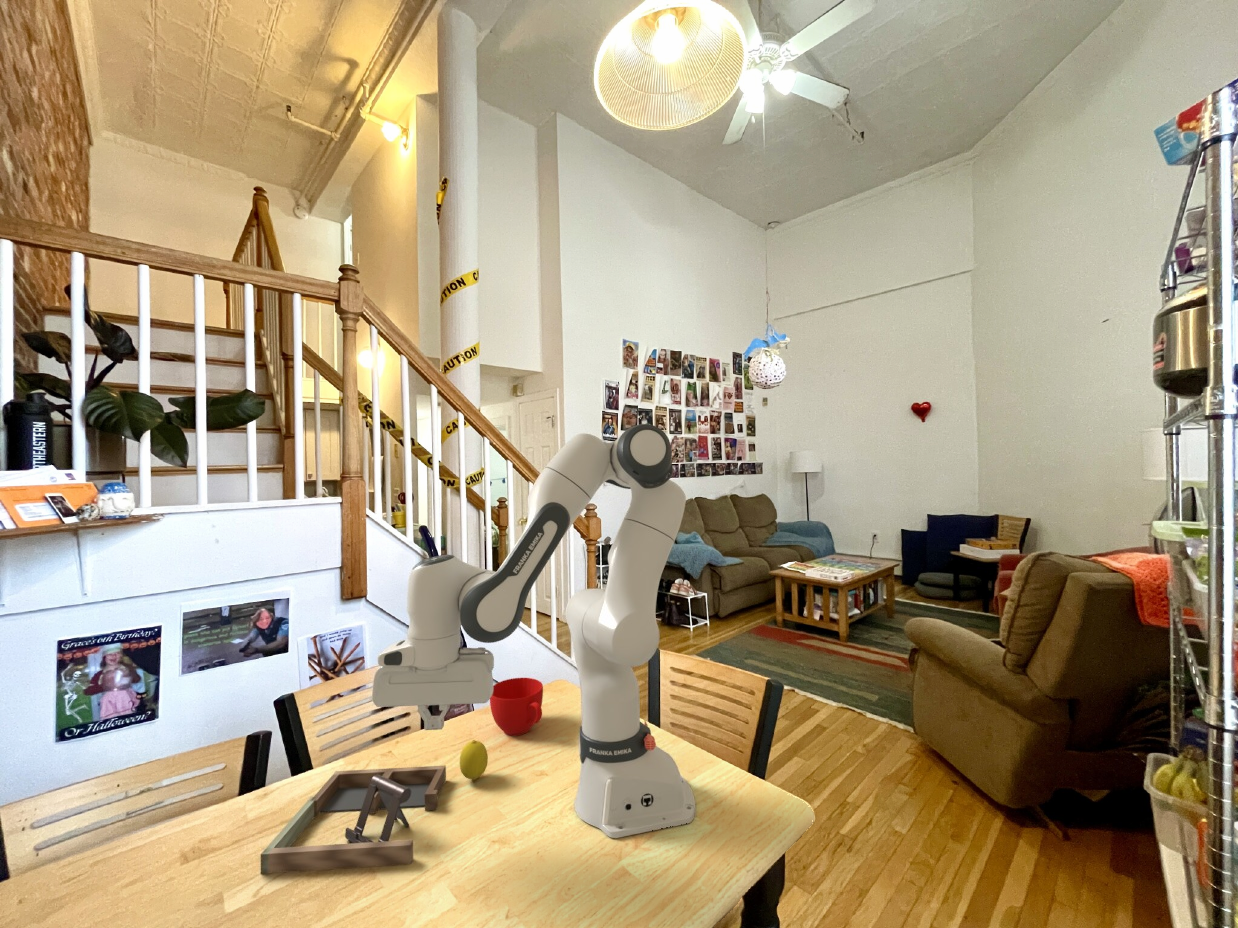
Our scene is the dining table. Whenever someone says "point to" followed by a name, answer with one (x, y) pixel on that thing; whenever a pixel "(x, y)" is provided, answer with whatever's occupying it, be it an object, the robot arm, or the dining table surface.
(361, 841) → the portable electronic device stand
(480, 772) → the lemon
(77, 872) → the dining table surface
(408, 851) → the channel
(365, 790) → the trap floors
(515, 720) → the ceramic cup
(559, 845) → the dining table surface
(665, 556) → the robot arm
